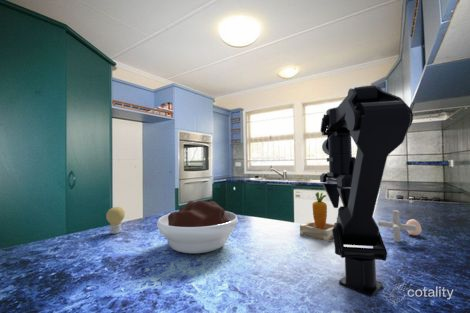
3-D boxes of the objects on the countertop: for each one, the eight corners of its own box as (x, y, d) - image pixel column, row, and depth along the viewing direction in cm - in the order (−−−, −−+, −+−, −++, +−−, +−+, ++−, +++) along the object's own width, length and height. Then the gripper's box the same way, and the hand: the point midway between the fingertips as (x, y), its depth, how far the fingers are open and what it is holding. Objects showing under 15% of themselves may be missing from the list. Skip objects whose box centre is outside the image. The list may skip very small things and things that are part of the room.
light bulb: (119, 235, 82) (119, 208, 83) (102, 235, 82) (102, 208, 83) (127, 230, 89) (127, 205, 89) (112, 230, 89) (112, 205, 89)
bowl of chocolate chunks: (138, 255, 63) (138, 203, 64) (190, 231, 86) (190, 193, 87) (211, 272, 53) (211, 209, 53) (249, 240, 75) (249, 196, 76)
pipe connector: (417, 248, 66) (415, 215, 66) (378, 242, 72) (376, 211, 72) (415, 239, 74) (414, 210, 74) (380, 234, 80) (379, 207, 80)
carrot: (321, 230, 83) (320, 190, 84) (330, 234, 78) (329, 192, 79) (310, 231, 82) (309, 191, 82) (318, 235, 77) (317, 192, 78)
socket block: (327, 241, 73) (326, 231, 73) (300, 234, 81) (299, 225, 81) (341, 235, 79) (341, 225, 79) (315, 229, 87) (315, 220, 88)
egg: (403, 234, 80) (402, 218, 80) (410, 232, 82) (409, 217, 82) (417, 237, 76) (416, 221, 76) (424, 236, 78) (423, 220, 78)
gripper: (392, 151, 50) (395, 219, 50) (355, 155, 69) (357, 205, 68) (341, 152, 51) (344, 219, 51) (318, 155, 70) (320, 204, 69)
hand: (342, 211), depth 60 cm, fingers open, 9 cm apart
